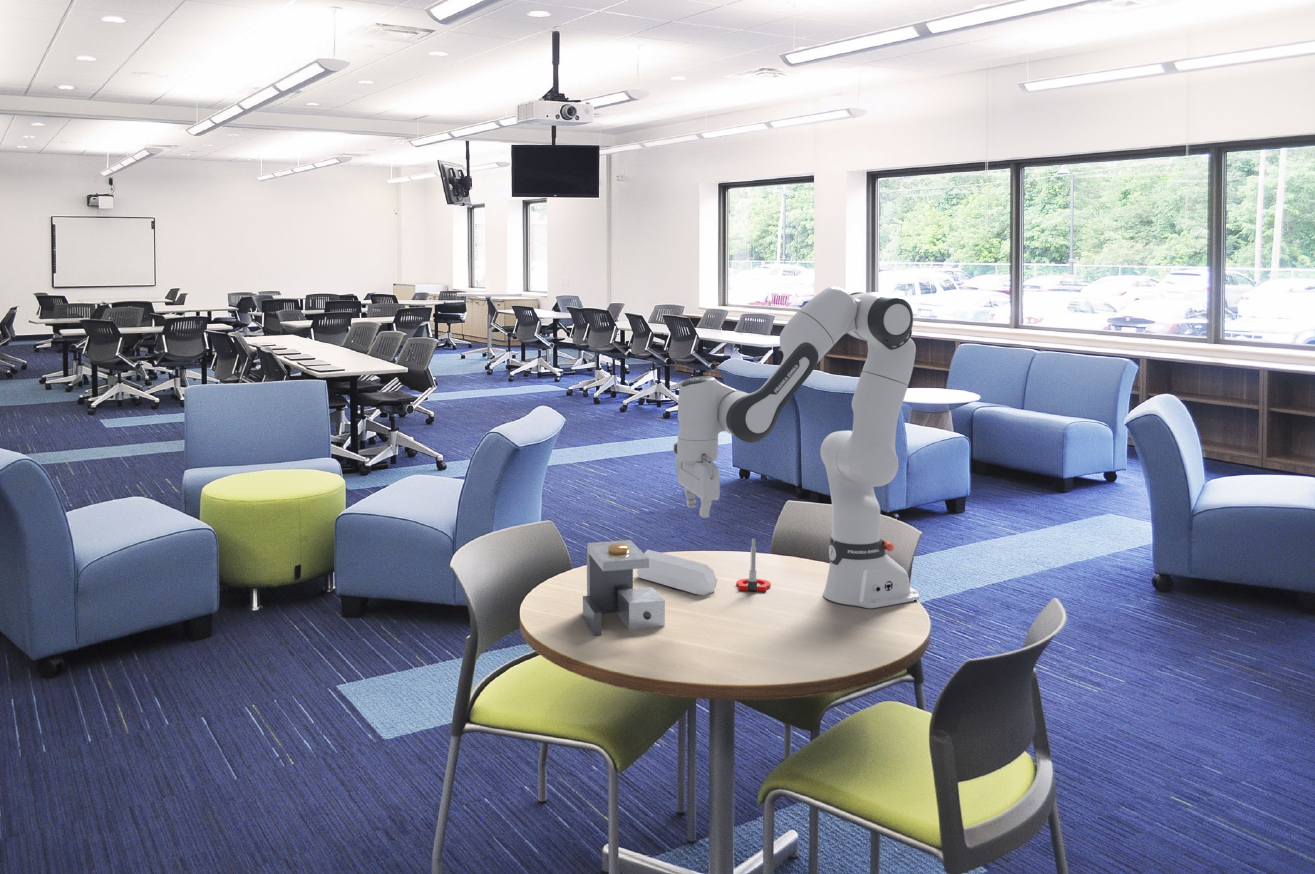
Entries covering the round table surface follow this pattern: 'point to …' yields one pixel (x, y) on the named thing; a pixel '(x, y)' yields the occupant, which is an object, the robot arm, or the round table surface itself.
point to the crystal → (678, 573)
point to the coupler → (609, 577)
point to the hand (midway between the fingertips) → (697, 512)
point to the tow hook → (753, 577)
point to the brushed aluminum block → (641, 608)
